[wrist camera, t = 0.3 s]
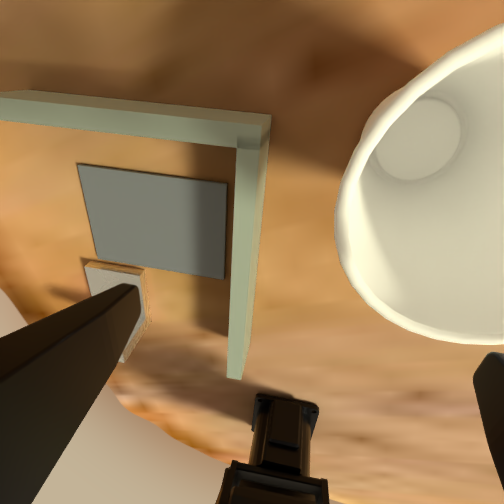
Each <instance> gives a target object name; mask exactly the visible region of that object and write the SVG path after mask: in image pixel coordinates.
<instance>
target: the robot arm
mask: <svg viewBox="0 0 504 504" xmlns="http://www.w3.org/2000/svg"><path fill="white" fill-rule="evenodd" d="M140 314H141V302H140V294H139V288H138V287H137V286H136V285H133V284H128V283H121V284H119V285H116V286H114V287H112V288H110V289H108V290H105V291H103V292H101V293H99V294H96V295H94V296H92V297H90V298H88V299H85V300H83V301H81V302H79V303H77V304H74V305H72V306H70V307H68V308H65V309H63V310H61V311H59V312H57V313H54V314H52V315H50V316H48V317H46V318H43V319H41V320H39V321H37V322H34V323H32V324H30V325H28V326H26V327H23V328H21V329H19V330H17V331H15V332H12V333H10V334H8V335H6V336H3V337H1V338H0V504H31V503H32V502H33V500H34V499H35V497H36V495H37V494H38V492H39V490H40V489H41V487H42V485H43V484H44V482H45V481H46V479H47V477H48V476H49V474H50V472H51V471H52V469H53V468H54V466H55V464H56V463H57V461H58V459H59V458H60V456H61V455H62V453H63V451H64V450H65V448H66V446H67V445H68V443H69V442H70V440H71V438H72V437H73V435H74V433H75V432H76V430H77V429H78V427H79V425H80V424H81V422H82V421H83V419H84V417H85V416H86V414H87V412H88V411H89V409H90V408H91V406H92V404H93V403H94V401H95V399H96V398H97V396H98V395H99V393H100V391H101V390H102V388H103V386H104V385H105V383H106V382H107V380H108V378H109V377H110V375H111V373H112V372H113V370H114V368H115V367H116V365H117V363H118V361H119V359H120V357H121V355H122V353H123V351H124V349H125V346H126V344H127V342H128V340H129V338H130V336H131V334H132V332H133V330H134V328H135V325H136V323H137V321H138V319H139V317H140ZM473 385H474V389H475V393H476V397H477V401H478V405H479V410H480V414H481V418H482V422H483V426H484V430H485V435H486V438H487V442H488V446H489V449H490V452H491V455H492V458H493V461H494V464H495V467H496V470H497V473H498V476H499V478H500V481H501V484H502V487H503V490H504V354H503V353H498V352H490V353H488V354H487V355H486V357H485V358H484V359H483V361H482V362H481V364H480V365H479V367H478V368H477V370H476V371H475V373H474V376H473ZM318 415H319V407H318V406H316V405H311V404H306V403H302V402H297V401H292V400H287V399H282V398H278V397H273V396H268V395H263V394H257V395H256V398H255V405H254V413H253V421H252V429H251V430H252V431H253V432H254V435H253V441H252V446H251V452H250V458H249V463H248V464H245V463H240V462H238V461H236V460H232V463H231V467H229V468H226V469H225V473H224V478H223V482H222V486H221V489H220V492H219V495H218V498H217V500H216V503H215V504H329V493H328V480H327V479H323V478H321V479H317V478H312V477H310V440H311V437H312V434H313V431H314V428H315V424H316V421H317V418H318Z"/></svg>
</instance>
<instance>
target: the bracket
mask: <svg viewBox="0 0 504 504" xmlns="http://www.w3.org/2000/svg"><path fill="white" fill-rule="evenodd" d="M84 268H85V272H86V275H87V279H88V283H89V287H90V291H91V295H92V296H94V295H96V294H99V293H101V292H103V291H105V290H108V289H110V288H112V287H114V286H116V285H119V284H121V283H128V284H133V285H136V286H137V287H138V288H139V294H140V302H141V314H140V317H139V319H138V321H137V323H136V325H135V328H134V330H133V332H132V334H131V336H130V338H129V340H128V342H127V344H126V346H125V349H124V351H123V353H122V355H121V357H120V359H119V361H118V362H122V363H125V362H126V360H127V358H128V357H129V355H130V354H131V352H132V351H133V349H134V348H135V346H136V345H137V343H138V342H139V340H140V339H141V337H142V335H143V334H144V332H145V331H146V329H147V328H148V326H149V325H150V323H151V322H152V320H151V312H150V304H149V297H148V289H147V281H146V274H145V270H144V269H138V268H132V267H126V266H120V265H114V264H108V263H102V262H96V261H90V262H89V263H88V264H87V265H85V266H84Z"/></svg>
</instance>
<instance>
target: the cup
mask: <svg viewBox="0 0 504 504" xmlns="http://www.w3.org/2000/svg"><path fill="white" fill-rule="evenodd" d="M334 238H335V243H336V247H337V251H338V255H339V260H340V263H341V266H342V268H343V270H344V271H345V273H346V275H347V277H348V279H349V281H350V283H351V285H352V286H353V288H354V289H355V290H356V291H357V293H358V294H359V295H360V296H361V297H362V299H363V300H364V301H365V302H366V303H367V304H368V305H369V306H370V307H372V308H373V309H374V310H375V311H377V312H378V313H379V314H381V315H382V316H383V317H384V318H386V319H387V320H389V321H391V322H393V323H395V324H397V325H399V326H401V327H402V328H404V329H406V330H408V331H411V332H414V333H417V334H420V335H423V336H426V337H429V338H433V339H437V340H443V341H449V342H455V343H461V344H481V345H498V344H504V23H501V24H499V25H496V26H494V27H492V28H490V29H488V30H487V31H485V32H483V33H481V34H479V35H478V36H476V37H474V38H472V39H470V40H468V41H467V42H465V43H463V44H461V45H459V46H457V47H456V48H454V49H452V50H450V51H448V52H447V53H446V54H444V55H443V56H442V57H441V58H439V59H438V60H437V61H435V62H434V63H433V64H431V65H430V66H429V67H428V68H426V69H425V70H424V71H422V72H421V73H420V74H418V75H417V76H416V77H415V78H413V79H412V80H411V81H409V82H408V83H407V84H406V85H405V86H404V87H402V88H400V89H399V90H397V91H395V92H393V93H392V94H391V95H389V96H388V97H387V98H385V99H384V100H383V101H382V102H381V103H380V104H379V105H378V106H377V107H376V108H375V110H374V111H373V112H372V114H371V115H370V117H369V118H368V120H367V122H366V124H365V127H364V129H363V131H362V135H361V139H360V142H359V143H358V145H357V146H356V148H355V149H354V152H353V154H352V156H351V159H350V161H349V163H348V166H347V168H346V170H345V172H344V175H343V177H342V179H341V182H340V187H339V192H338V196H337V201H336V206H335V210H334Z"/></svg>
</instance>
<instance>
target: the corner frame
mask: <svg viewBox="0 0 504 504" xmlns="http://www.w3.org/2000/svg"><path fill="white" fill-rule="evenodd" d="M0 120H3V121H12V122H20V123H29V124H37V125H46V126H54V127H63V128H71V129H80V130H88V131H97V132H105V133H114V134H122V135H131V136H140V137H148V138H157V139H165V140H174V141H182V142H191V143H199V144H208V145H216V146H225V147H233V148H237V153H236V175H235V198H234V221H233V243H232V266H231V289H230V312H229V334H228V357H227V378H232V379H237V380H241V378H242V374H243V370H244V366H245V362H246V358H247V354H248V349H249V345H250V338H251V328H252V317H253V307H254V296H255V286H256V276H257V265H258V255H259V244H260V234H261V224H262V213H263V203H264V192H265V182H266V172H267V161H268V151H269V140H270V130H271V120H272V115H270V114H260V113H251V112H241V111H231V110H221V109H212V108H202V107H192V106H183V105H173V104H163V103H154V102H144V101H134V100H125V99H115V98H105V97H95V96H86V95H76V94H66V93H57V92H47V91H37V90H18V91H7V92H0Z"/></svg>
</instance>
